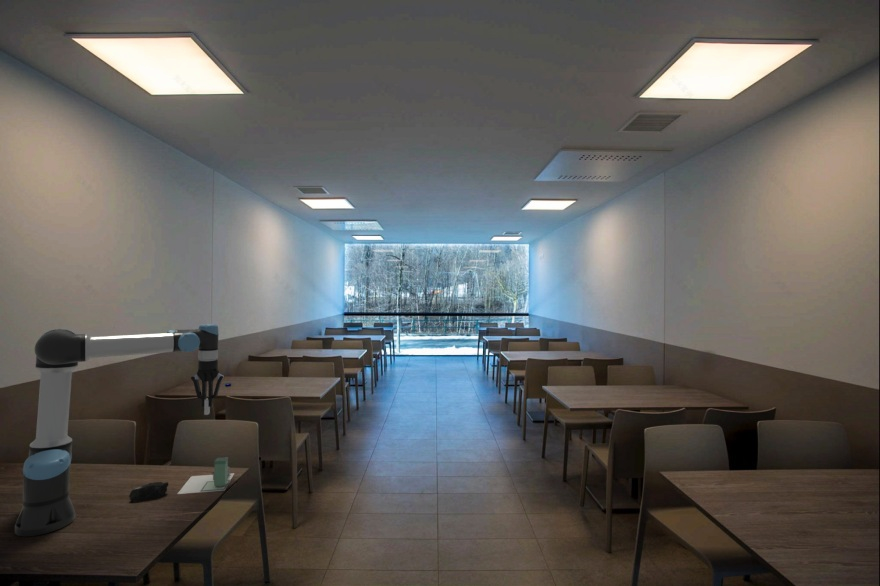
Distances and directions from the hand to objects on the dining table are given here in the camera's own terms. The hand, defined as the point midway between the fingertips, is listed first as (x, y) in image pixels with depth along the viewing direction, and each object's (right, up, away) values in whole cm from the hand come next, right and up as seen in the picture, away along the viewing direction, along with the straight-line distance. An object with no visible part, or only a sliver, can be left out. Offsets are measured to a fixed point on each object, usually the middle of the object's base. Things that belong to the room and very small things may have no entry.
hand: (206, 414), depth 189 cm
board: (+5, -26, -10) cm, 29 cm away
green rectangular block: (+12, -26, -12) cm, 31 cm away
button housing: (+8, -27, -3) cm, 28 cm away
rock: (-11, -26, -22) cm, 36 cm away
